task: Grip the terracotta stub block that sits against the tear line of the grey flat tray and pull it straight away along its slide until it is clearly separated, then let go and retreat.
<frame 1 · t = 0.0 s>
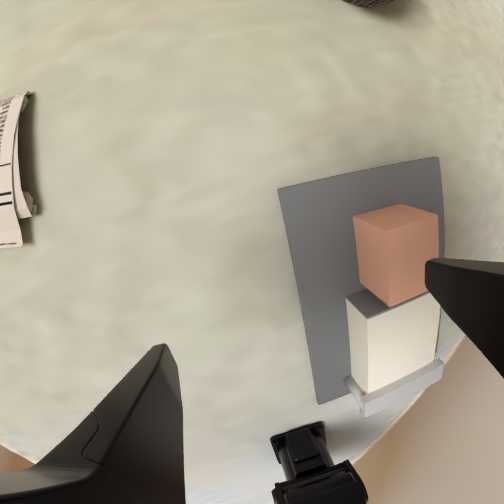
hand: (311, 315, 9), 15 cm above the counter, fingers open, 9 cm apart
stub: (397, 251, 22), point 3 cm above the counter, slide at 0.0 cm
grey flat tray: (380, 291, 27), on the counter
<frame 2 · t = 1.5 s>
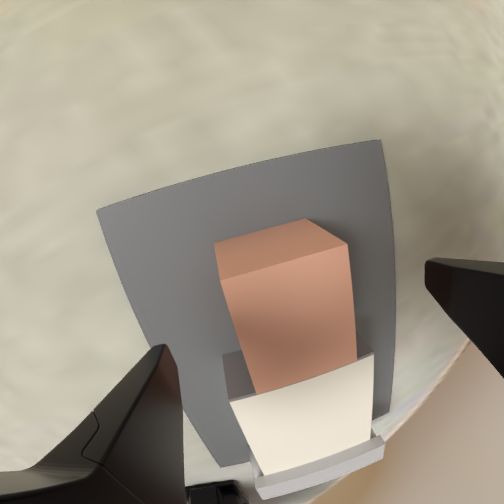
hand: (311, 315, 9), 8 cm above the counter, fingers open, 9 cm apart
stub: (284, 301, 14), point 3 cm above the counter, slide at 0.0 cm
grey flat tray: (285, 346, 19), on the counter
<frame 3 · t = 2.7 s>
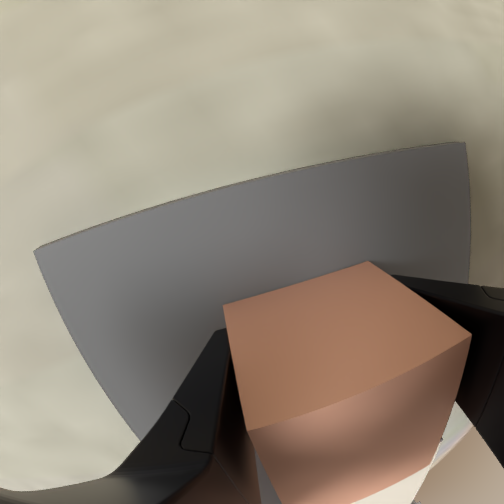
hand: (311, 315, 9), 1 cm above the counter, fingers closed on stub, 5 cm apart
stub: (337, 399, 8), point 3 cm above the counter, slide at 0.0 cm, touching gripper
grey flat tray: (319, 422, 13), on the counter
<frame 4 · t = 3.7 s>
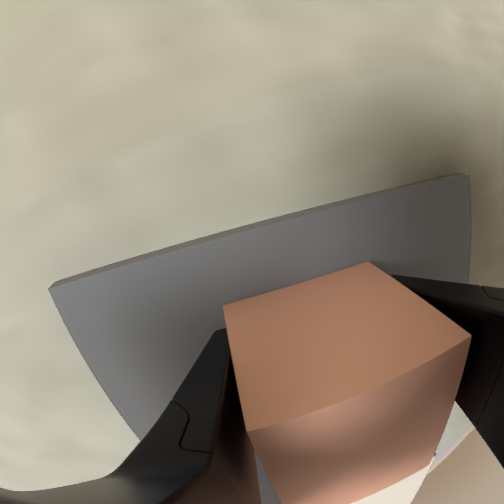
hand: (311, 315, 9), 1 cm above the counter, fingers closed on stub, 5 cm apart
stub: (337, 400, 8), point 3 cm above the counter, slide at 1.3 cm, touching gripper
grey flat tray: (320, 435, 13), on the counter
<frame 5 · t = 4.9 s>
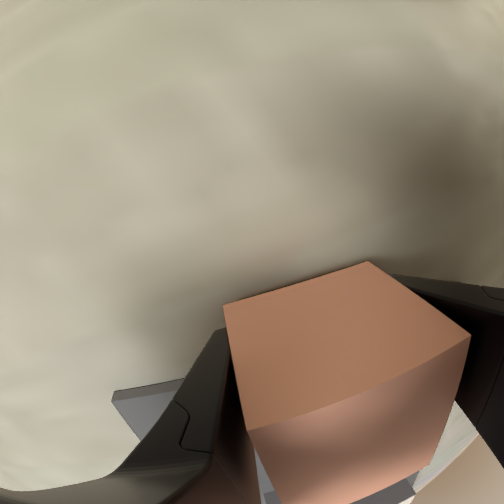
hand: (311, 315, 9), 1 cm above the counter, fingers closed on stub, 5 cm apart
stub: (337, 399, 8), point 3 cm above the counter, slide at 6.4 cm, touching gripper
grey flat tray: (326, 474, 15), on the counter
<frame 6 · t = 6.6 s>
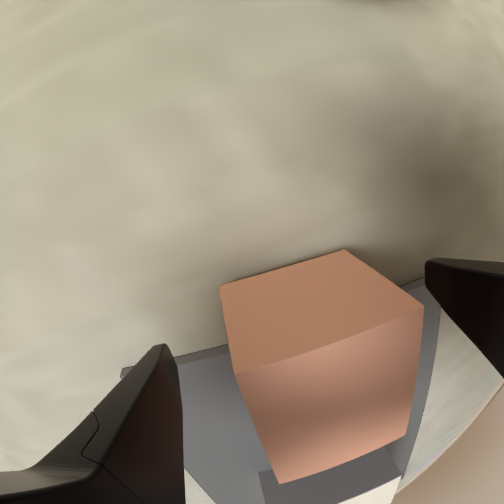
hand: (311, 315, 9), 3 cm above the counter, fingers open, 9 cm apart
stub: (317, 368, 10), point 3 cm above the counter, slide at 6.4 cm
grey flat tray: (317, 456, 17), on the counter
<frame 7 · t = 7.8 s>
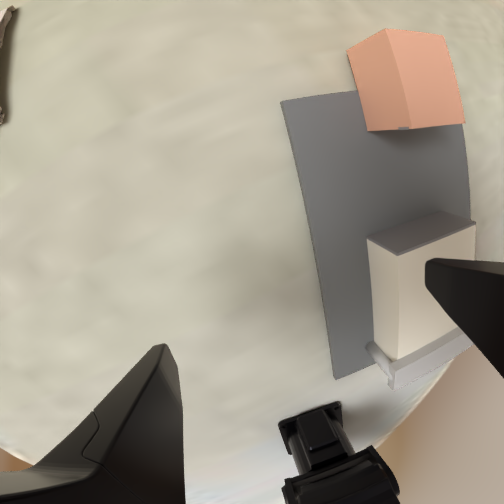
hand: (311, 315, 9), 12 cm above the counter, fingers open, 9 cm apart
stub: (406, 82, 15), point 3 cm above the counter, slide at 6.4 cm
grey flat tray: (404, 234, 22), on the counter
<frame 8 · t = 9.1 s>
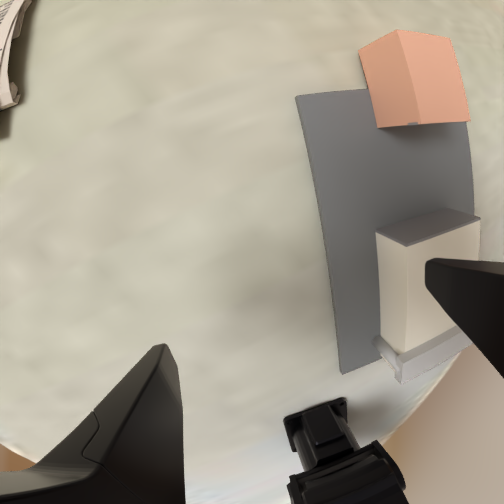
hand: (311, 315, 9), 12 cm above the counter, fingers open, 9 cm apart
stub: (415, 82, 16), point 3 cm above the counter, slide at 6.4 cm
grey flat tray: (411, 229, 23), on the counter
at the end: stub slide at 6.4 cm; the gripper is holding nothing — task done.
